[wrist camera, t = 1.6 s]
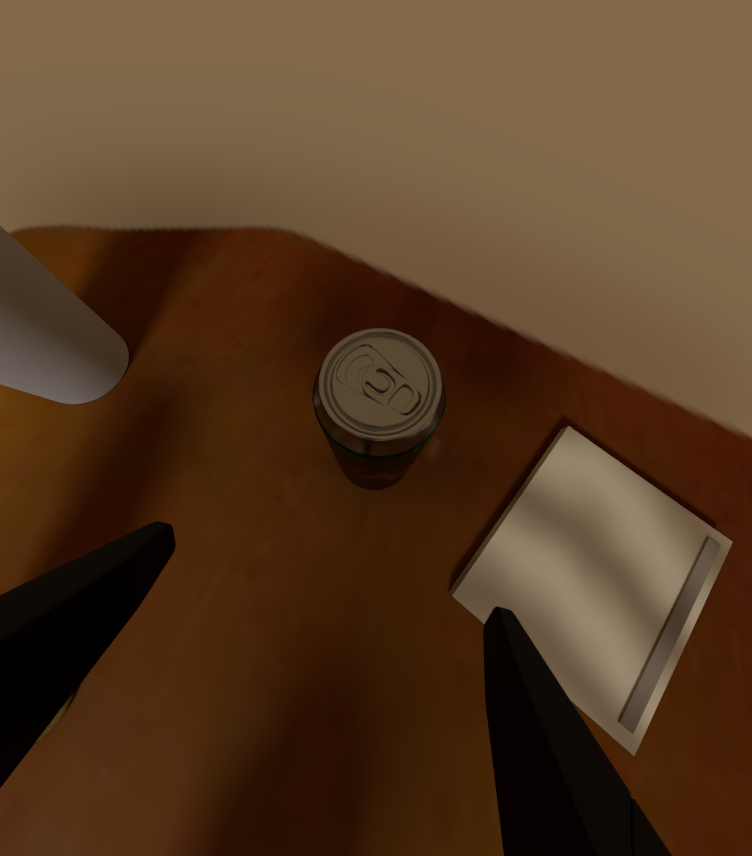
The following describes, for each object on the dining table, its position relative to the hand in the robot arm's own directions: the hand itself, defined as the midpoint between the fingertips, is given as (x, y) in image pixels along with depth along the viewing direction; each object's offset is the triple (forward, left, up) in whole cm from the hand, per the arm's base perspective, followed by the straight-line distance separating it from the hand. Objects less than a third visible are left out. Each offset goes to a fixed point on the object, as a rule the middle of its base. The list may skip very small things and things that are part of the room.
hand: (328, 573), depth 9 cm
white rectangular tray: (-6, -14, -13) cm, 20 cm away
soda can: (+5, -3, -13) cm, 14 cm away
